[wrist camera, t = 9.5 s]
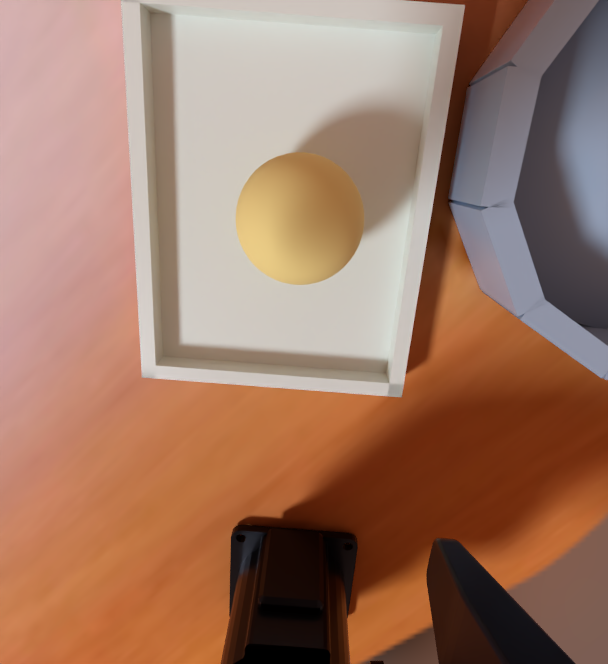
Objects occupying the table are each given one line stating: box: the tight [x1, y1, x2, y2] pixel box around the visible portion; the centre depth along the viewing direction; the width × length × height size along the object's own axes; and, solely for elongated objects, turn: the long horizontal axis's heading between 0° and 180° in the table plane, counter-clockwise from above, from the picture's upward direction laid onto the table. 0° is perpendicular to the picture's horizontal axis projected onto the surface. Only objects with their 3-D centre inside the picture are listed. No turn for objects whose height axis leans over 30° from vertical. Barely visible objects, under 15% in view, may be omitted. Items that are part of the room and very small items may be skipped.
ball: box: [236, 152, 364, 285], centre depth 16 cm, size 4×4×4 cm
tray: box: [121, 0, 465, 397], centre depth 18 cm, size 14×11×2 cm
